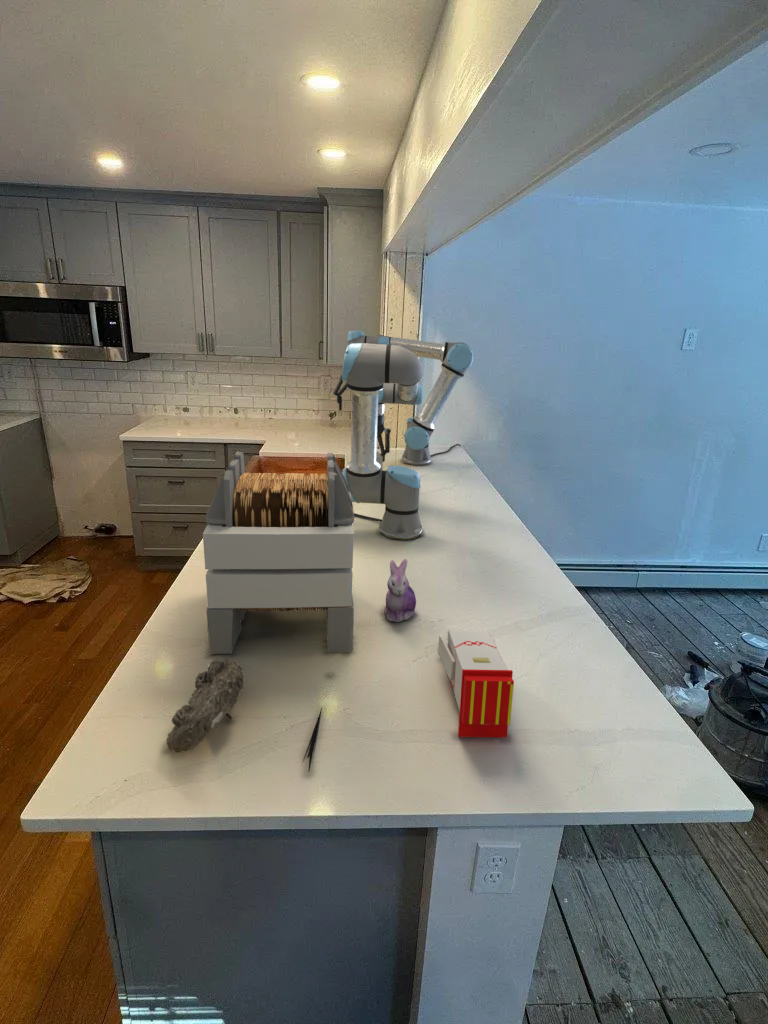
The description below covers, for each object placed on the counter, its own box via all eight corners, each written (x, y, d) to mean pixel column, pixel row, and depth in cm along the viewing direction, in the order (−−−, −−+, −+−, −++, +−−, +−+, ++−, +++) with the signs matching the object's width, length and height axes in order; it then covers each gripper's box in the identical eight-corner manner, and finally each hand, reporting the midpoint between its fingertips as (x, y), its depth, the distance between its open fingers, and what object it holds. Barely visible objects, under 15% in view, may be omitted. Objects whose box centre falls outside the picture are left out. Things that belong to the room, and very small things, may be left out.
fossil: (192, 660, 117) (244, 628, 112) (224, 691, 120) (276, 661, 115) (142, 746, 98) (202, 712, 93) (182, 779, 101) (242, 748, 96)
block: (368, 483, 233) (369, 456, 229) (363, 478, 239) (364, 452, 236) (381, 482, 234) (382, 455, 231) (376, 477, 241) (377, 451, 237)
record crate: (229, 585, 158) (221, 442, 144) (346, 584, 161) (350, 444, 148) (206, 656, 126) (193, 481, 112) (353, 652, 130) (358, 483, 116)
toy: (488, 613, 130) (523, 677, 101) (484, 667, 133) (517, 744, 104) (435, 612, 130) (455, 676, 101) (432, 666, 133) (451, 743, 103)
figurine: (392, 627, 141) (395, 572, 136) (374, 608, 149) (376, 556, 144) (425, 619, 145) (429, 566, 140) (405, 601, 154) (408, 550, 149)
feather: (331, 679, 122) (336, 673, 122) (307, 777, 96) (313, 769, 95) (324, 675, 122) (329, 669, 121) (298, 772, 95) (304, 764, 95)
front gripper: (354, 415, 222) (353, 472, 229) (400, 415, 227) (397, 471, 235) (349, 412, 228) (348, 468, 236) (394, 412, 234) (391, 466, 242)
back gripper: (331, 365, 261) (330, 411, 269) (382, 366, 269) (380, 410, 276) (327, 363, 268) (327, 408, 275) (377, 364, 276) (376, 408, 283)
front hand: (372, 469), depth 235 cm, fingers closed on block, 6 cm apart
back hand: (353, 409), depth 276 cm, fingers open, 13 cm apart
